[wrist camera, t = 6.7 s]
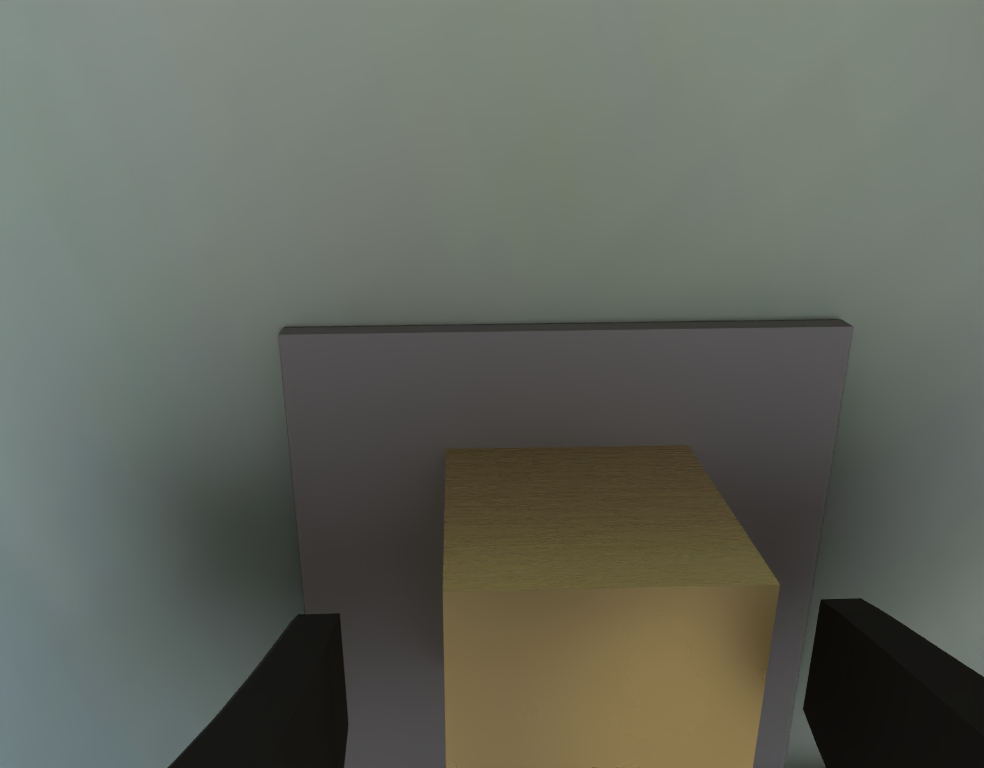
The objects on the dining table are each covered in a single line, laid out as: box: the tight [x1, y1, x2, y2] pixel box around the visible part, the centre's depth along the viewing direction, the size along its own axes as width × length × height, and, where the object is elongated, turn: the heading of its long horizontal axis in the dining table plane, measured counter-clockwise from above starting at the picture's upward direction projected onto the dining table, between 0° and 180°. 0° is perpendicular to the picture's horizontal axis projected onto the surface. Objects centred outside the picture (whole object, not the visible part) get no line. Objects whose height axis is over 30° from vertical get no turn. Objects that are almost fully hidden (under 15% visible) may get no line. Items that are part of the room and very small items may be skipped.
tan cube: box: [443, 445, 780, 768], centre depth 12 cm, size 4×4×4 cm
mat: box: [278, 320, 853, 768], centre depth 14 cm, size 9×9×1 cm
